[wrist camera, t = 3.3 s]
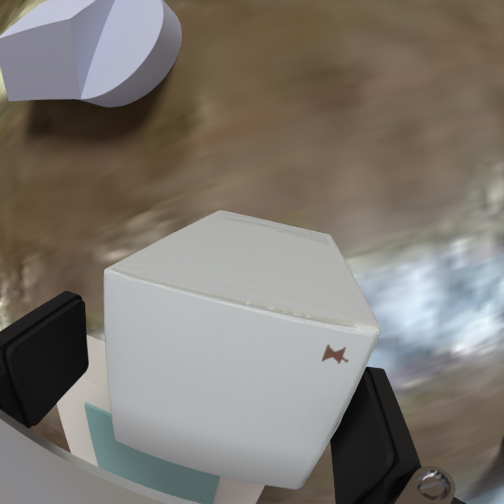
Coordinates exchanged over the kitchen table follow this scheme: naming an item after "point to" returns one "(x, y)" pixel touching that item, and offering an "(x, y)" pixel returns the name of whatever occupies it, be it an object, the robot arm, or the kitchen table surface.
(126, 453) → the stand
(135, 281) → the supplement box
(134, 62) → the wedge on round base
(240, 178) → the kitchen table surface
